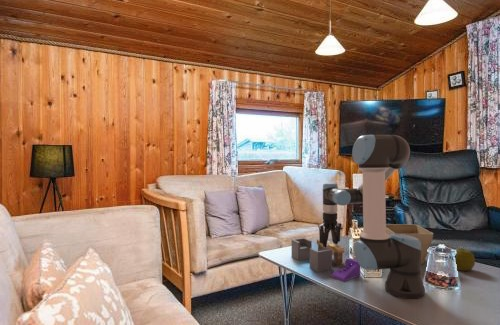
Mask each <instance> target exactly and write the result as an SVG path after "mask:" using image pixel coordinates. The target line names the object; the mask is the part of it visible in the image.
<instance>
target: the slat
mask: <svg viewBox="0 0 500 325" xmlns="http://www.w3.org/2000/svg"><path fill="white" fill-rule="evenodd" d="M332 242H333V241H329V240H328V241H327V245H328V248H329V249H331V250H332V251H333V252H335V253H337V254H338V253H345V247H344V246H341V245H340V244H339V245H338V244H337V245H336V244H334V243H332ZM316 245H317V246H318V245H320V246H322V247H323V244H321V243H320V238H318V239H316Z"/></svg>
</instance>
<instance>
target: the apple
mask: <svg viewBox="0 0 500 325" xmlns="http://www.w3.org/2000/svg"><path fill="white" fill-rule="evenodd" d="M455 250H457V254H456V257H455V258H456V264H457V268H458V269H457V268H456V269H457V270H459V271H463V272H467V271H470V270H471V271H472V269H473V268H474V266H475V264H476V263H475V262H476V257H475V255H474V254H473V252H471V251H470V250H469V249H465V248H456V249H455Z"/></svg>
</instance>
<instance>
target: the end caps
mask: <svg viewBox="0 0 500 325" xmlns="http://www.w3.org/2000/svg"><path fill="white" fill-rule="evenodd" d="M312 243H313V242H312V240H311V239H309V238H306V237H301V238H299V237H298V238H293V239H291V257H292V258H293V259H295V260H296V261H302V260H303V261H304V260H308V259H309V268H310V269H312V270H314V271H315V272H318V273H319V272H323V271H330V270H333V255H332V250H331V249H329V248H327V247H324V246H323V247H322V251H318V249H314V248H312Z"/></svg>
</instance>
